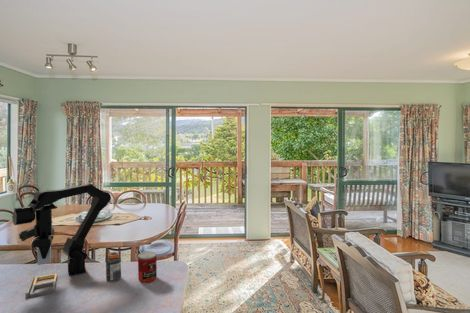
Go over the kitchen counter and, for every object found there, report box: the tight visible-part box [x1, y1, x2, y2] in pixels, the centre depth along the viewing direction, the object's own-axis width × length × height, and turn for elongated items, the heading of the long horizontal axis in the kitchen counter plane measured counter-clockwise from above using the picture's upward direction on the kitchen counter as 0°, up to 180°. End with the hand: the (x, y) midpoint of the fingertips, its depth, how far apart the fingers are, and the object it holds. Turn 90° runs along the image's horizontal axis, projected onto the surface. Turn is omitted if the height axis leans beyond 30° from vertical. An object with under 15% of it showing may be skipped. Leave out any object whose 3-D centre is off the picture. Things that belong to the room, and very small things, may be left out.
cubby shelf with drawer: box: [25, 273, 58, 299], centre depth 119 cm, size 9×16×2 cm, turn 28°
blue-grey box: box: [36, 245, 52, 266], centre depth 123 cm, size 4×4×8 cm
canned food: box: [137, 250, 158, 284], centre depth 126 cm, size 8×8×11 cm
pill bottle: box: [105, 251, 122, 283], centre depth 126 cm, size 6×6×11 cm
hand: (44, 256), depth 123 cm, fingers closed on blue-grey box, 4 cm apart
